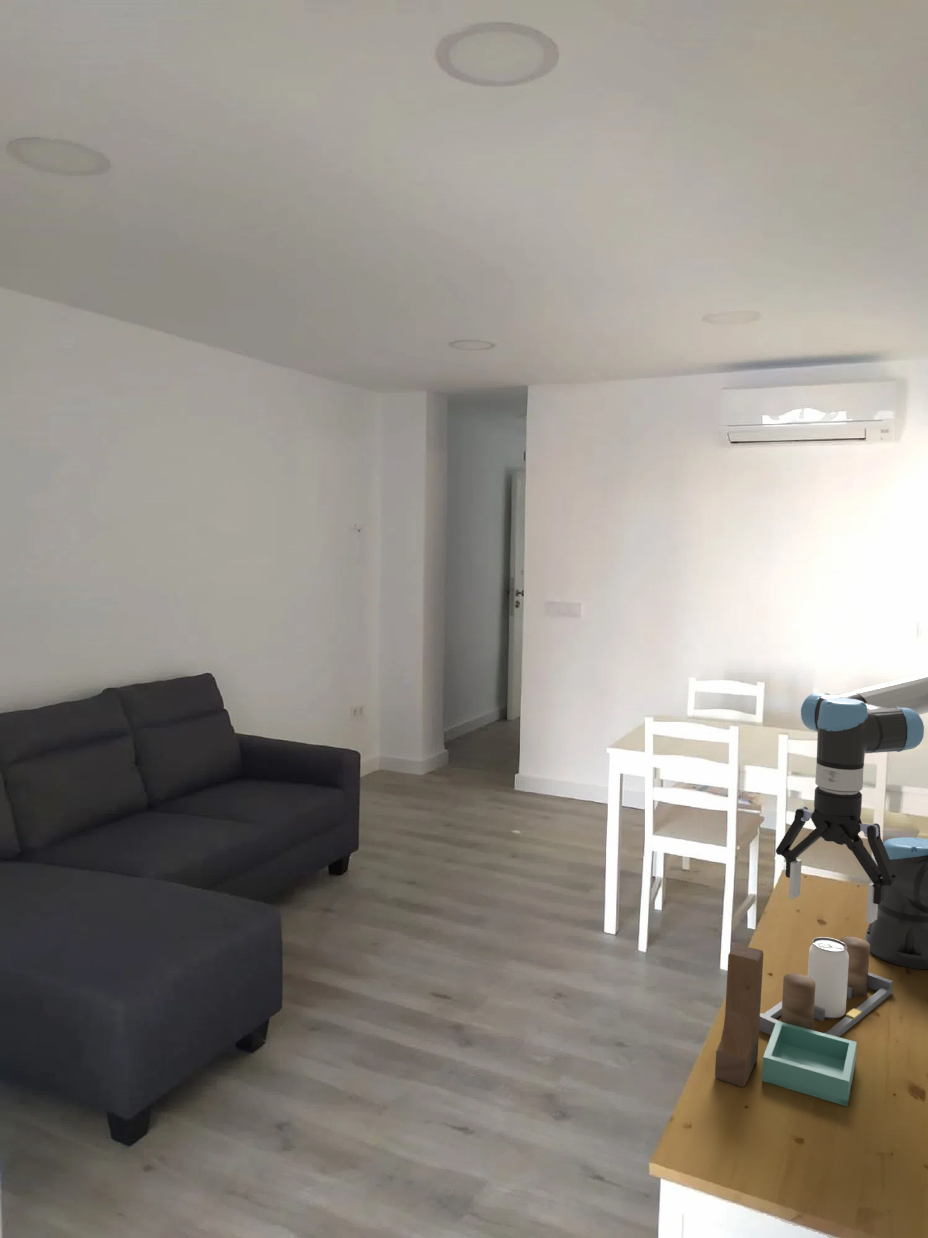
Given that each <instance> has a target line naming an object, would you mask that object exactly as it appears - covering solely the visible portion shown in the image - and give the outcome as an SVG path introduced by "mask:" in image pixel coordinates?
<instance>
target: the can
mask: <svg viewBox="0 0 928 1238" xmlns="http://www.w3.org/2000/svg"><path fill="white" fill-rule="evenodd" d="M846 949H847V946H846V945H845V944H844V943H843V942H841V941H840V940H839V939H835V938H832V937H826V936H820V937H815V938H813V939H812V944H811V945H810V946H809V951H808V965H807V976H808V977H810V978H811V979H813V980H814V981H815V983H816V985H815V1001H814V1006H817V1007H819V1008H822V1009H824V1010H825V1019H831V1020H833V1019H841V1018H842V1017H843V1016H844V1015H846V1009H847V999H848V998H847V983H848V966H849V955H848V952H847V950H846Z"/></svg>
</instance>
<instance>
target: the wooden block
mask: <svg viewBox="0 0 928 1238" xmlns="http://www.w3.org/2000/svg"><path fill="white" fill-rule="evenodd" d="M727 955H728V957H727V973H726V989H725V991H726V992H725V1007H724V1008H725V1009H724V1018H723V1019H724V1020H723V1021H724V1022H723V1027H722V1033H721V1038H720V1040H719V1041H720V1042H719V1044H718V1046H717V1049H716V1051H715V1063H714V1065H715V1066H714V1078H715V1079H717V1080H719V1081H723V1082H726V1083H729V1084H731V1085H735V1086H738V1087H741V1088H744V1087H745V1086H746V1083H747V1081H748V1079H749V1077H750V1075H751V1072H752V1071H753V1069H754V1067H755V1064H756V1063H757V1060H758V1056H759V1055H758V1053H759V1041H760V1040H759V1039H760V1030H759V1023H760V1013H761V1003H762V1001H761V1000H762V988H763V987H762V984H763V969H764V968H763V967H764V965H763V964H764V951H763V950H761V949H759V948H754V947H750V946H747V945H742V944H734V945H733V947H732V948H731V950H730V951H729V953H728V954H727Z"/></svg>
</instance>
